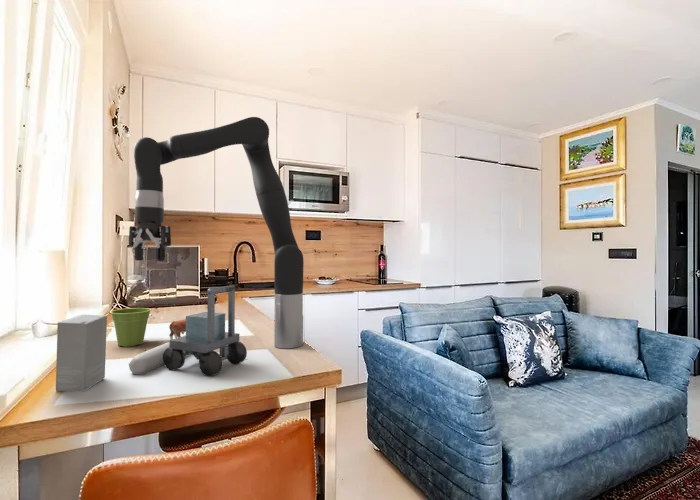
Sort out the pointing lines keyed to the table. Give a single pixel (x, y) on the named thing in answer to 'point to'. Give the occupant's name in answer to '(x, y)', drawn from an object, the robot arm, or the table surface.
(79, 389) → the skincare box
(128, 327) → the plant pot
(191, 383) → the table surface
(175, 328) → the bull figurine
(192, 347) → the trolley
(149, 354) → the tube
